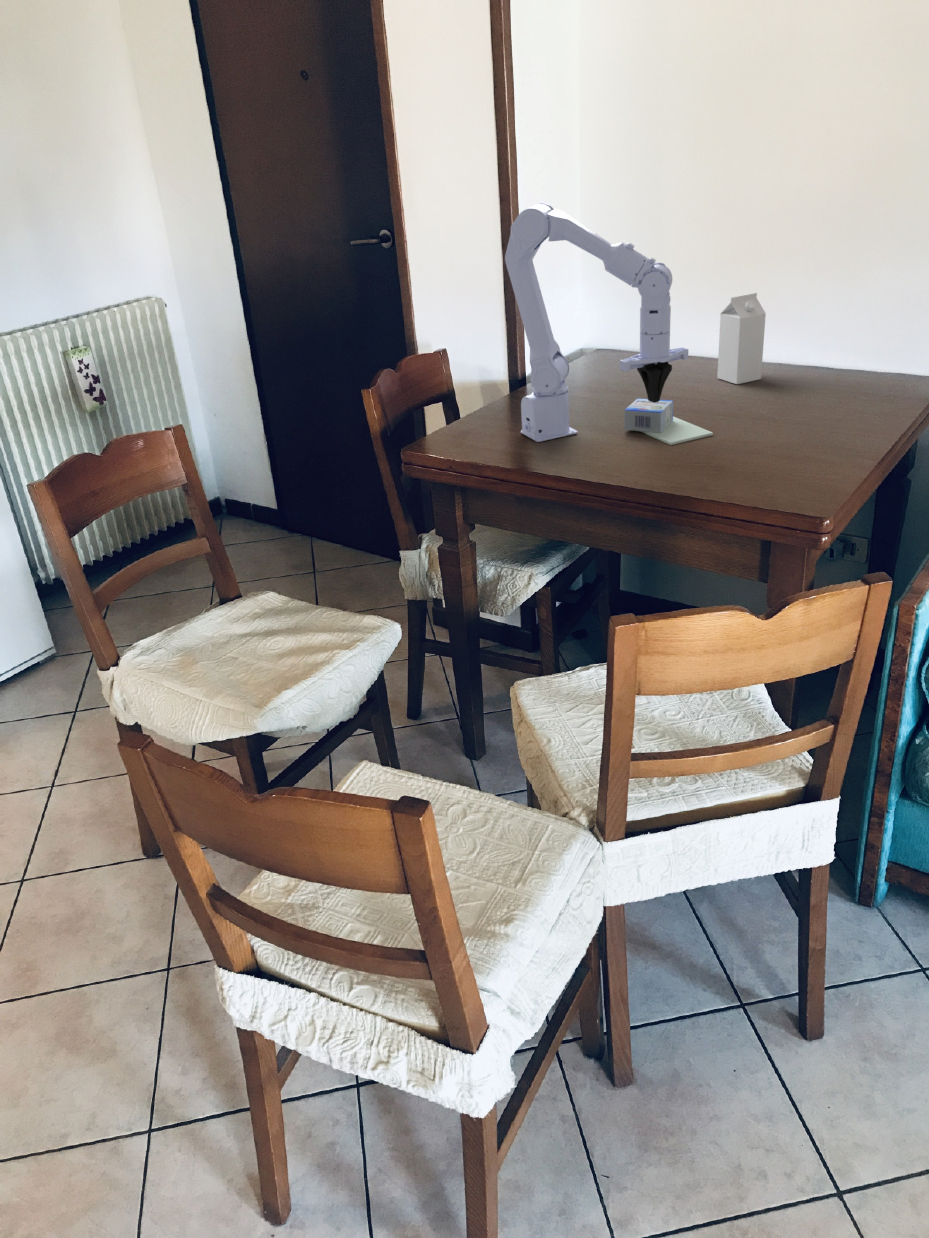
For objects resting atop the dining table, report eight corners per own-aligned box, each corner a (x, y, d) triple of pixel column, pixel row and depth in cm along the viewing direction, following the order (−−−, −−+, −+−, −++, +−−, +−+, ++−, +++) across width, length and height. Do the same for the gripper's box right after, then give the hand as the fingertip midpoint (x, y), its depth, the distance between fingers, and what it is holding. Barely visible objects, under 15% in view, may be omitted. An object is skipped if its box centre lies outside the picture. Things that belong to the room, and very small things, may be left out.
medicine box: (623, 410, 193) (636, 397, 200) (623, 431, 195) (636, 418, 202) (661, 412, 190) (673, 399, 196) (661, 434, 192) (673, 420, 199)
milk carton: (716, 379, 225) (721, 295, 216) (741, 373, 227) (746, 291, 218) (736, 385, 219) (741, 299, 210) (761, 379, 221) (767, 295, 212)
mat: (670, 445, 187) (670, 442, 187) (629, 426, 199) (629, 423, 199) (712, 435, 190) (713, 432, 190) (669, 417, 202) (669, 414, 202)
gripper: (634, 341, 178) (633, 412, 184) (698, 329, 183) (696, 398, 189) (614, 335, 184) (614, 404, 190) (677, 323, 188) (675, 391, 195)
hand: (653, 401), depth 190 cm, fingers closed
